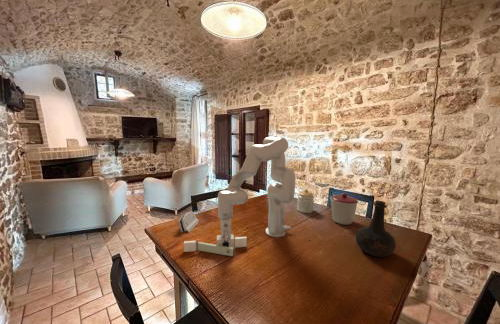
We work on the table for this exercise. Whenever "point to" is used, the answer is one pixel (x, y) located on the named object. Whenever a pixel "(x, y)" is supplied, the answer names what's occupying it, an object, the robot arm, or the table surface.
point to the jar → (305, 201)
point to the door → (214, 248)
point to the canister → (343, 208)
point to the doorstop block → (220, 239)
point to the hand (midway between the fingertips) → (225, 246)
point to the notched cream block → (192, 244)
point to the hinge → (188, 221)
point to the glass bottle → (376, 234)
